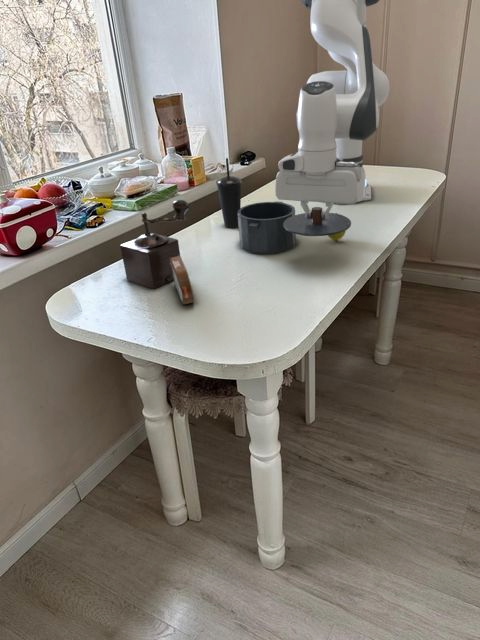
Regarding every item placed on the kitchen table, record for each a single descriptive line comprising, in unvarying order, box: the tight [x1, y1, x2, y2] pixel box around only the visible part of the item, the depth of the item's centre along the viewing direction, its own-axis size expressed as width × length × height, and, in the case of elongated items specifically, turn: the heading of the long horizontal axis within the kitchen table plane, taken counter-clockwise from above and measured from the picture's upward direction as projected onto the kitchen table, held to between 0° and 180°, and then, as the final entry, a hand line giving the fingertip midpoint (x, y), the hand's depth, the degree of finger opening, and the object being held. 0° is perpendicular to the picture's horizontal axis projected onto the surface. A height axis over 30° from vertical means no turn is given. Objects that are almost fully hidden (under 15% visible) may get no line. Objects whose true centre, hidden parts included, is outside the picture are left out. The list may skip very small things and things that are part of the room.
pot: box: [238, 200, 297, 255], centre depth 148 cm, size 16×21×10 cm
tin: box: [170, 254, 195, 305], centre depth 123 cm, size 15×3×8 cm, turn 17°
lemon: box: [328, 212, 346, 242], centre depth 148 cm, size 6×6×8 cm
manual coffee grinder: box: [120, 199, 190, 290], centre depth 132 cm, size 16×11×18 cm
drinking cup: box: [215, 157, 243, 229], centre depth 160 cm, size 8×8×20 cm
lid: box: [283, 206, 352, 237], centre depth 131 cm, size 17×17×5 cm
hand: (316, 218), depth 131 cm, fingers closed on lid, 2 cm apart
